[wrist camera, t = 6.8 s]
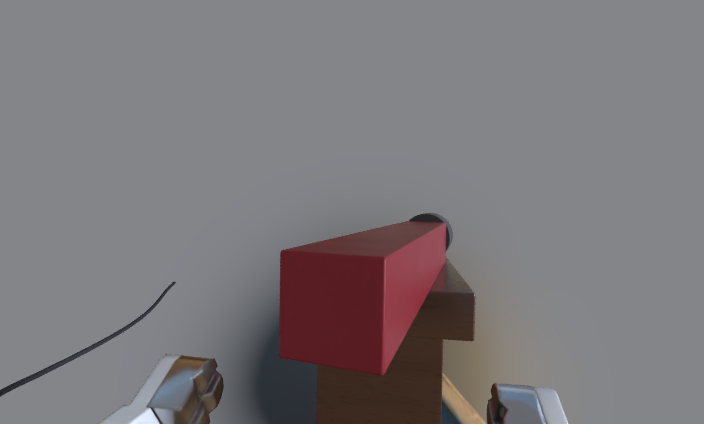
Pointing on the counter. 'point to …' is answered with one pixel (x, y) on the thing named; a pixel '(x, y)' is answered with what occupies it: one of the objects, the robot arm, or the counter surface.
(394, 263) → the maroon rod
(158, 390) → the robot arm
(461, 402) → the counter surface
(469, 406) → the counter surface
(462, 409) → the counter surface
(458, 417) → the counter surface
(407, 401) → the shelf stand
